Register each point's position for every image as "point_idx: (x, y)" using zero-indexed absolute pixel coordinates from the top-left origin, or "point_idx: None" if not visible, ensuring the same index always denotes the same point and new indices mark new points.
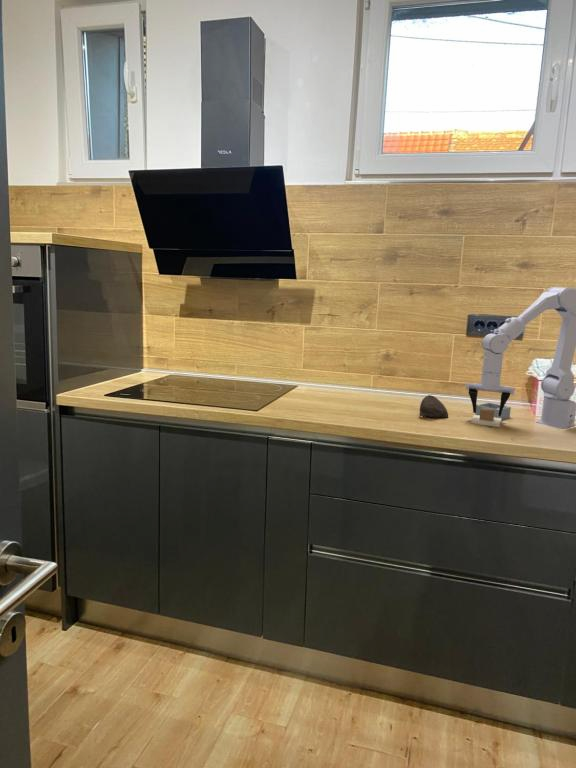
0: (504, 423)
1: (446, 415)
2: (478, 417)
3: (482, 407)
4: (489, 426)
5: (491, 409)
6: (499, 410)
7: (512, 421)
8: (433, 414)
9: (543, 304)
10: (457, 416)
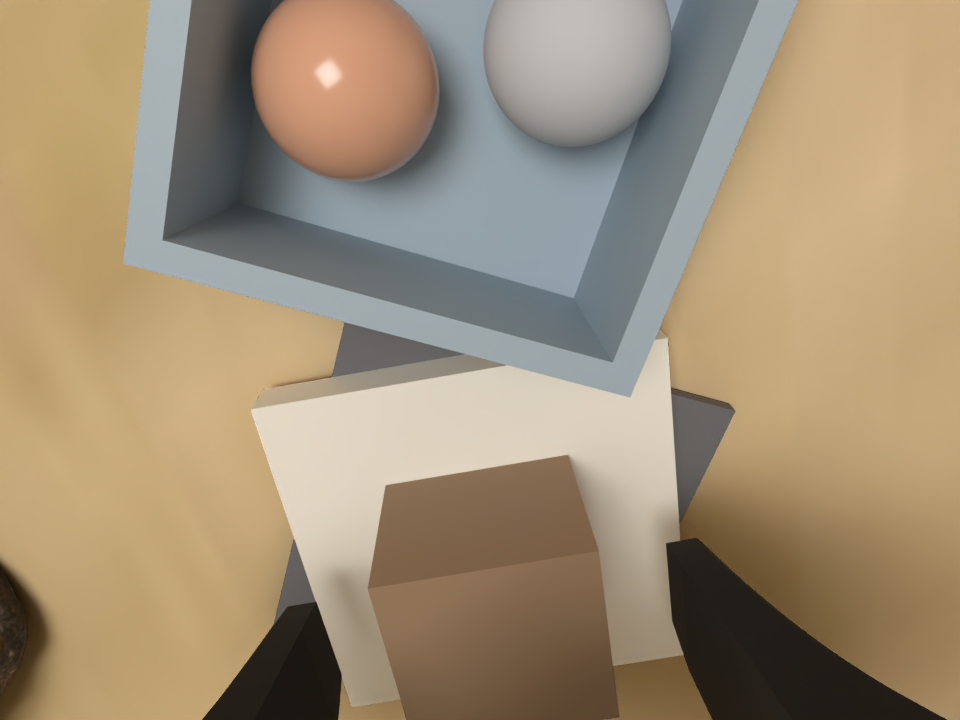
0: (709, 424)
1: (3, 675)
2: (369, 525)
3: (294, 302)
4: None
5: (557, 615)
6: (713, 710)
7: (796, 105)
8: None
9: None
10: (28, 391)
